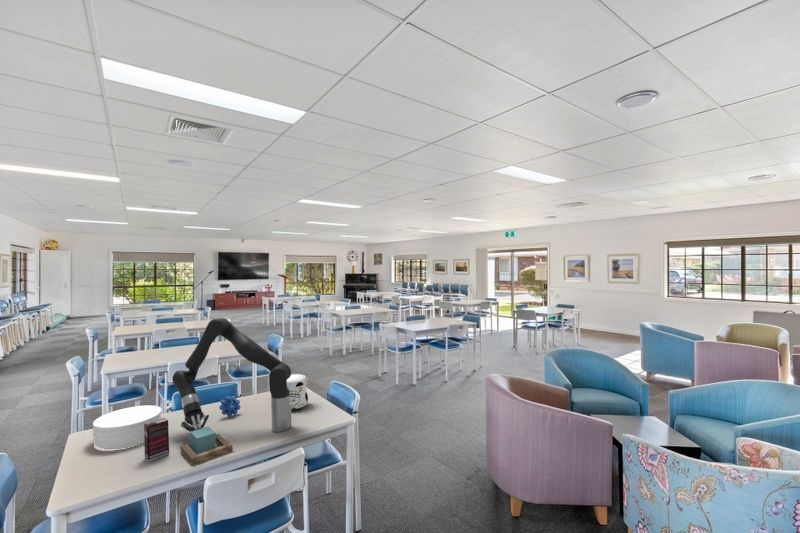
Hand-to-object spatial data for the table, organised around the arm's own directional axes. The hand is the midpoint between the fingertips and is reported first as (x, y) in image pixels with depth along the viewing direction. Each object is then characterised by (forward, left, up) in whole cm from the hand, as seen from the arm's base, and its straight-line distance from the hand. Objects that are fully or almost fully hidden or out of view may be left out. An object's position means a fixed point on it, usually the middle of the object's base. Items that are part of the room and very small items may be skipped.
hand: (199, 437), depth 177 cm
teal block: (0, +6, -4) cm, 7 cm away
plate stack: (+22, -36, -4) cm, 42 cm away
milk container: (-56, -10, -4) cm, 57 cm away
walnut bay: (0, +10, -4) cm, 11 cm away
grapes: (-24, -24, -4) cm, 34 cm away
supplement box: (+17, -3, -4) cm, 18 cm away
